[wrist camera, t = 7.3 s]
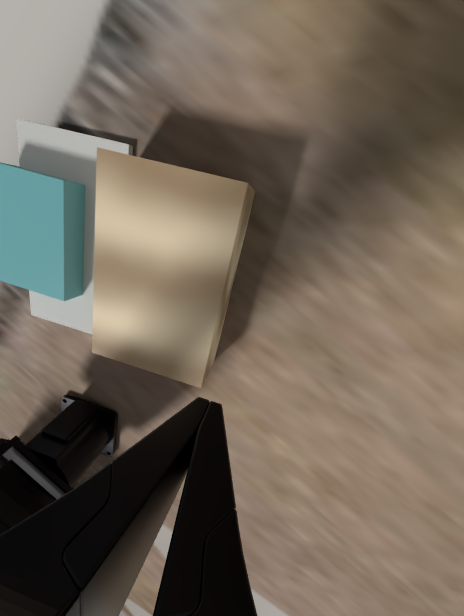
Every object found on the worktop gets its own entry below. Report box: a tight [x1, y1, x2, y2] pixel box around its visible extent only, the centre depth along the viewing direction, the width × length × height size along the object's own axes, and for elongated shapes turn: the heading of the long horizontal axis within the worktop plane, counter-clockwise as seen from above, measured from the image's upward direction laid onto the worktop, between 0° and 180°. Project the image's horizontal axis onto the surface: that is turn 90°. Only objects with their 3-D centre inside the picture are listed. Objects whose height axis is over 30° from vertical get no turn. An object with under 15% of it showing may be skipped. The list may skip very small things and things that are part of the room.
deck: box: [92, 147, 255, 388], centre depth 18 cm, size 14×9×4 cm, turn 167°
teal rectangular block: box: [0, 163, 85, 301], centre depth 19 cm, size 9×6×2 cm, turn 166°
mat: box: [16, 118, 133, 334], centre depth 21 cm, size 16×9×1 cm, turn 167°
